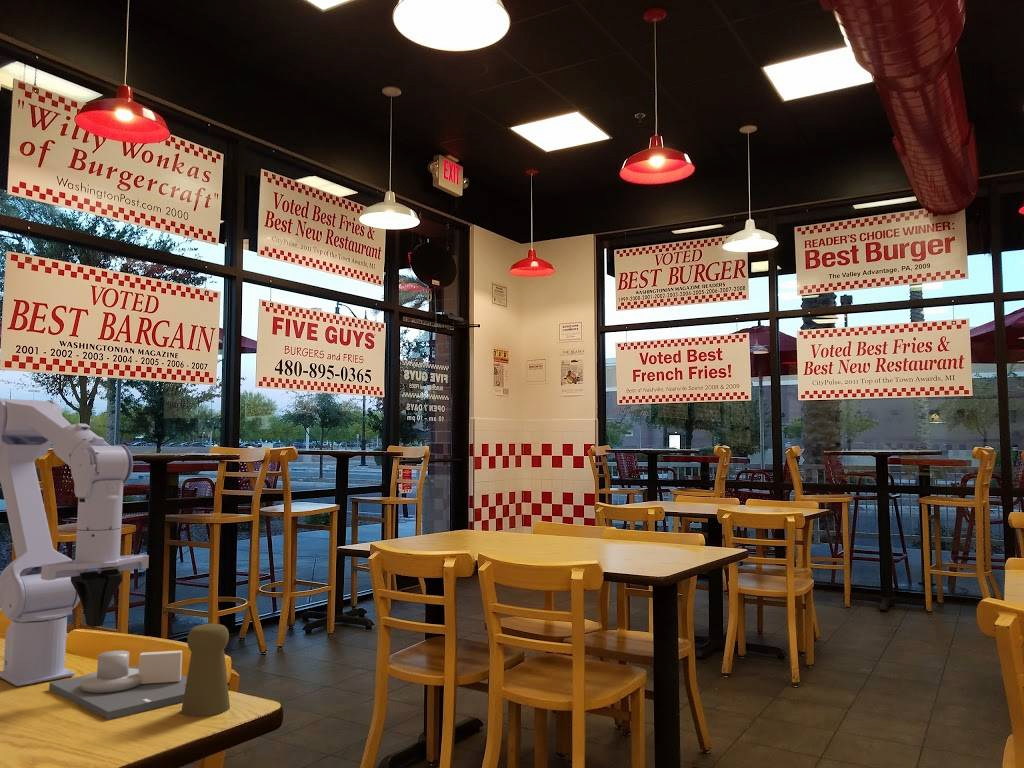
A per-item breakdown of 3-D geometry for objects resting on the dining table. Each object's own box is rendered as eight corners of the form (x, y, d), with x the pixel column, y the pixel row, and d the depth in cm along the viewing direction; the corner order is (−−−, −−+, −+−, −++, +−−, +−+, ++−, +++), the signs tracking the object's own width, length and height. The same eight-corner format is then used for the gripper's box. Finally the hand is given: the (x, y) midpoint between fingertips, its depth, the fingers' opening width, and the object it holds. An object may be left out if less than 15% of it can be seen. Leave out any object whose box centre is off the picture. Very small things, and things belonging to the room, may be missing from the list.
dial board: (49, 689, 114) (49, 681, 114) (149, 669, 125) (150, 662, 125) (107, 719, 101) (108, 710, 101) (214, 694, 112) (214, 686, 112)
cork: (213, 718, 102) (216, 630, 103) (171, 715, 103) (174, 628, 104) (238, 704, 108) (241, 621, 109) (198, 701, 109) (201, 619, 110)
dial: (73, 694, 108) (75, 662, 108) (88, 678, 116) (89, 649, 116) (176, 687, 111) (177, 656, 112) (184, 672, 119) (185, 643, 119)
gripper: (61, 534, 106) (56, 638, 105) (161, 526, 118) (158, 620, 117) (35, 531, 110) (30, 631, 109) (135, 524, 122) (131, 614, 121)
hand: (94, 625), depth 113 cm, fingers closed
